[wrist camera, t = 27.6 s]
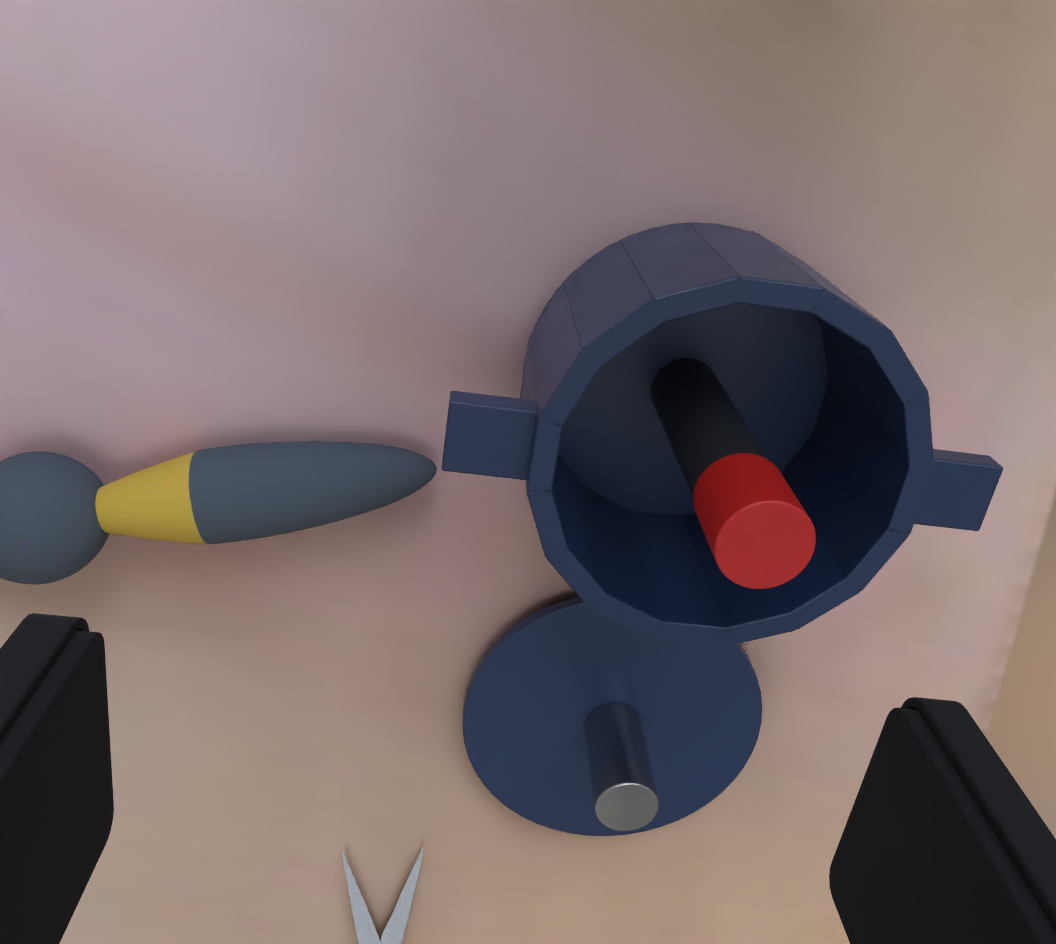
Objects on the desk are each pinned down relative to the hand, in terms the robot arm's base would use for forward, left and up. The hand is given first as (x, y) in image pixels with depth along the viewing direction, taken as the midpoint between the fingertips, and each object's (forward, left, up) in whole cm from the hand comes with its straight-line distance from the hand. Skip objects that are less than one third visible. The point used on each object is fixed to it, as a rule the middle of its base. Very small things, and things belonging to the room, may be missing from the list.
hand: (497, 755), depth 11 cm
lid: (+20, +8, -26) cm, 34 cm away
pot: (+4, +8, -26) cm, 28 cm away
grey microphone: (+10, -11, -26) cm, 30 cm away
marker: (+4, +8, -26) cm, 27 cm away
